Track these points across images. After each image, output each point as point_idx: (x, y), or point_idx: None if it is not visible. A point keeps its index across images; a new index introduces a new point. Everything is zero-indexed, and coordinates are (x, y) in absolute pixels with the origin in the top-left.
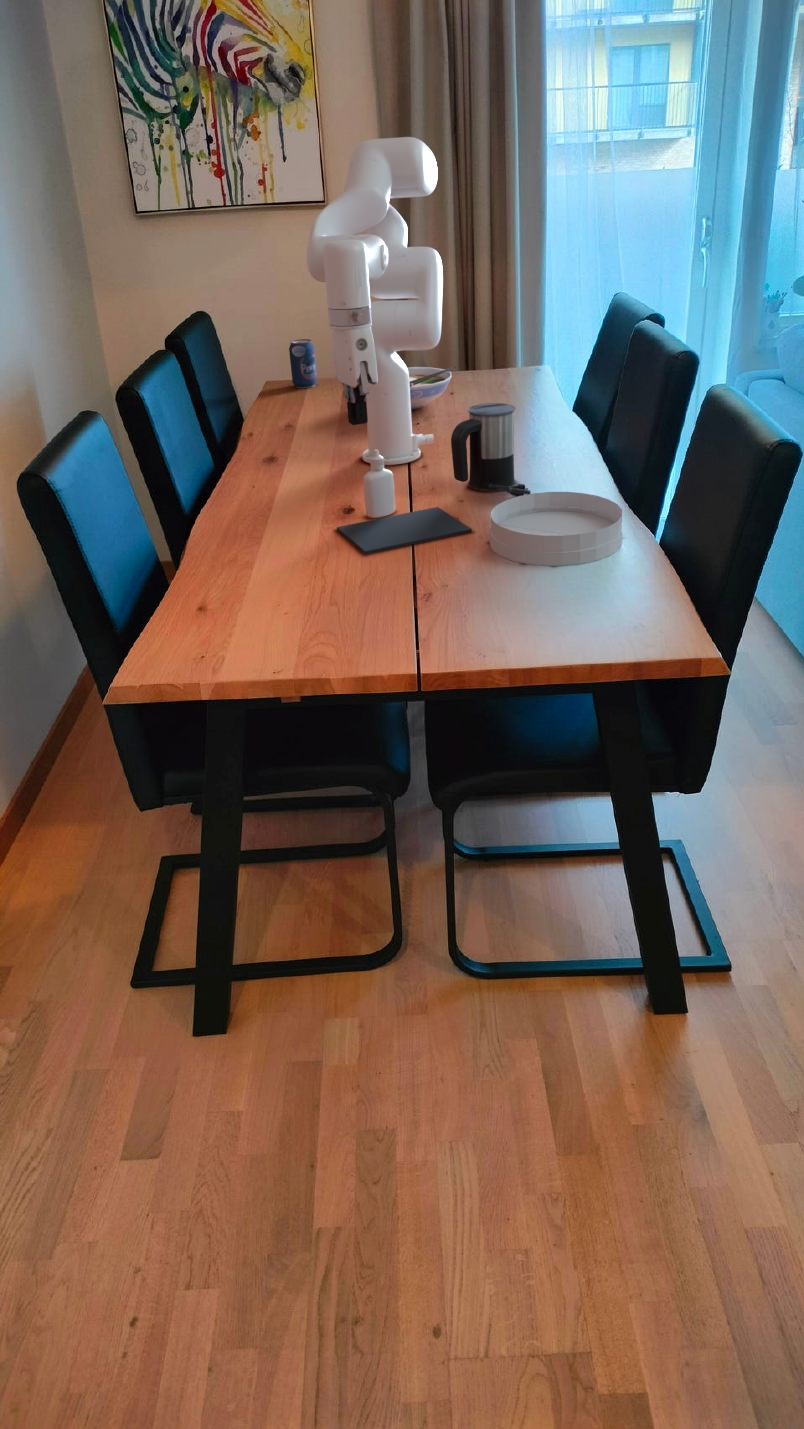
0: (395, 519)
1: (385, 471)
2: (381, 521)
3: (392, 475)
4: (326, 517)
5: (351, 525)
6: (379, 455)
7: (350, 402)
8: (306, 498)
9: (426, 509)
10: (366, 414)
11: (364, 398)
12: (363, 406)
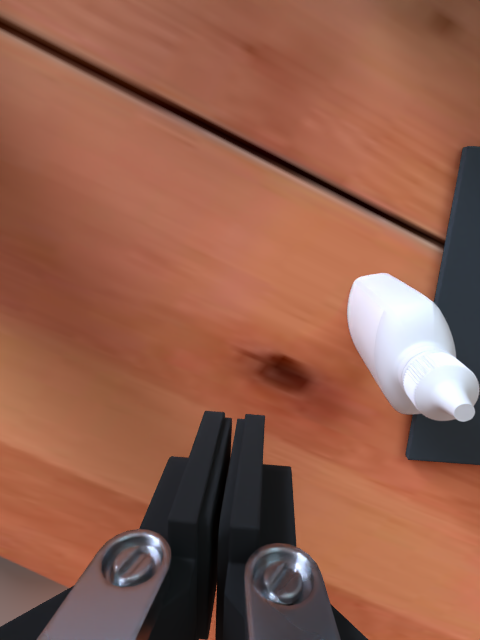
0: (472, 315)
1: (449, 345)
2: (457, 354)
3: (436, 305)
4: (296, 436)
5: (424, 427)
6: (464, 390)
7: (196, 632)
8: (120, 419)
9: (464, 193)
10: (261, 449)
11: (349, 626)
12: (292, 537)
